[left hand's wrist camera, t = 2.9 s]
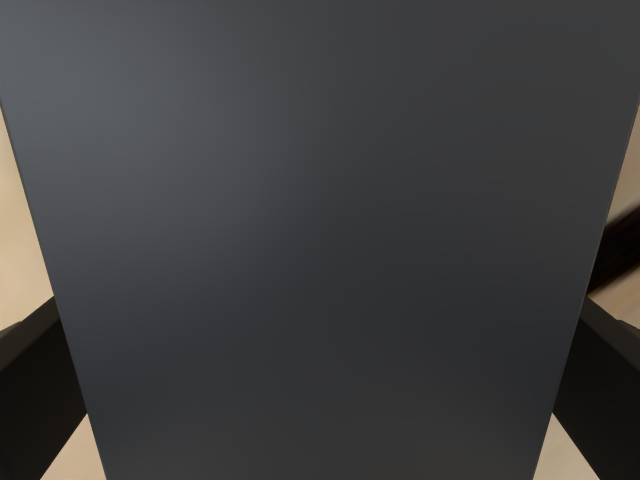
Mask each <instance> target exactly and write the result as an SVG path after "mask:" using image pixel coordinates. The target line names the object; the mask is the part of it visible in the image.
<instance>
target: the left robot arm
mask: <svg viewBox="0 0 640 480" xmlns="http://www.w3.org/2000/svg"><path fill="white" fill-rule="evenodd" d="M552 413H553V414H554V415H555V417H556V418H557V420H558V421H559V422H560V424H561V425H562V427H563V428H564V429H565V431H566V432H567V434H568V435H569V437H570V438H571V439H572V441H573V442H574V444H575V445H576V446H577V448H578V449H579V451H580V452H581V454H582V455H583V456H584V458H585V459H586V461H587V462H588V463H589V465H590V466H591V468H592V469H593V471H594V472H595V473H596V475H597V476H598V478H599V479H600V480H640V329H638V328H636V327H634V326H632V325H630V324H628V323H626V322H624V321H622V320H616V319H615V318H613V317H612V316H611V315H610V314H608V313H607V312H606V311H605V310H603V309H602V308H601V307H600V306H598V305H597V304H596V303H595V302H593V301H592V300H591V299H590V298H588V297H587V296H586V295H585V297H584V301H583V305H582V308H581V312H580V315H579V319H578V322H577V326H576V329H575V333H574V336H573V340H572V343H571V347H570V350H569V354H568V357H567V361H566V364H565V368H564V372H563V375H562V379H561V382H560V386H559V389H558V393H557V396H556V400H555V403H554V407H553V410H552ZM86 414H87V410H86V406H85V403H84V399H83V396H82V392H81V389H80V385H79V381H78V378H77V374H76V371H75V367H74V364H73V360H72V357H71V353H70V350H69V346H68V343H67V339H66V336H65V332H64V329H63V325H62V322H61V318H60V315H59V311H58V308H57V304H56V301H55V297H54V296H53V297H52V298H50V299H49V300H48V301H47V302H45V303H44V304H43V305H42V306H40V307H39V308H38V309H37V310H35V311H34V312H33V313H32V314H30V315H29V316H28V317H27V318H25V319H24V320H23V321H19V322H17V323H15V324H13V325H11V326H10V327H8V328H6V329H4V330H2V331H0V480H40V479H41V478H42V476H43V475H44V473H45V472H46V471H47V469H48V468H49V466H50V465H51V463H52V462H53V461H54V459H55V458H56V456H57V455H58V454H59V452H60V451H61V449H62V448H63V446H64V445H65V444H66V442H67V441H68V439H69V438H70V437H71V435H72V434H73V432H74V431H75V429H76V428H77V427H78V425H79V424H80V422H81V421H82V420H83V418H84V417H85V415H86Z"/></svg>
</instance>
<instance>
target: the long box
mask: <svg viewBox="0 0 640 480" xmlns="http://www.w3.org/2000/svg"><path fill="white" fill-rule="evenodd" d="M639 104H640V0H0V108H1V111H2V115H3V118H4V122H5V125H6V129H7V132H8V136H9V139H10V143H11V146H12V150H13V153H14V157H15V160H16V164H17V167H18V171H19V174H20V178H21V181H22V185H23V188H24V192H25V195H26V199H27V202H28V206H29V209H30V213H31V216H32V220H33V223H34V227H35V230H36V234H37V237H38V241H39V245H40V248H41V252H42V255H43V259H44V262H45V266H46V269H47V273H48V276H49V280H50V283H51V287H52V290H53V294H54V297H55V301H56V304H57V308H58V311H59V315H60V318H61V322H62V325H63V329H64V332H65V336H66V339H67V343H68V346H69V350H70V353H71V357H72V360H73V364H74V367H75V371H76V374H77V378H78V381H79V385H80V389H81V392H82V396H83V399H84V403H85V406H86V410H87V413H88V417H89V420H90V424H91V427H92V431H93V434H94V438H95V441H96V445H97V448H98V452H99V455H100V459H101V462H102V466H103V469H104V473H105V476H106V480H533V477H534V474H535V470H536V467H537V463H538V460H539V456H540V453H541V449H542V446H543V442H544V438H545V435H546V431H547V428H548V424H549V421H550V417H551V414H552V410H553V407H554V403H555V400H556V396H557V393H558V389H559V386H560V382H561V379H562V375H563V372H564V368H565V364H566V361H567V357H568V354H569V350H570V347H571V343H572V340H573V336H574V333H575V329H576V326H577V322H578V319H579V315H580V312H581V308H582V305H583V301H584V297H585V294H586V290H587V287H588V283H589V280H590V276H591V273H592V269H593V266H594V262H595V259H596V255H597V252H598V248H599V245H600V241H601V238H602V234H603V231H604V227H605V223H606V220H607V216H608V213H609V209H610V206H611V202H612V199H613V195H614V192H615V188H616V185H617V181H618V178H619V174H620V171H621V167H622V164H623V160H624V156H625V153H626V149H627V146H628V142H629V139H630V135H631V132H632V128H633V125H634V121H635V118H636V114H637V111H638V107H639Z"/></svg>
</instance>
